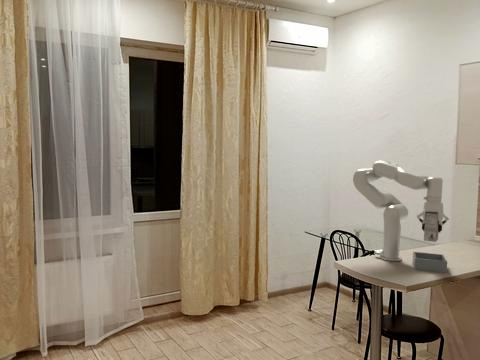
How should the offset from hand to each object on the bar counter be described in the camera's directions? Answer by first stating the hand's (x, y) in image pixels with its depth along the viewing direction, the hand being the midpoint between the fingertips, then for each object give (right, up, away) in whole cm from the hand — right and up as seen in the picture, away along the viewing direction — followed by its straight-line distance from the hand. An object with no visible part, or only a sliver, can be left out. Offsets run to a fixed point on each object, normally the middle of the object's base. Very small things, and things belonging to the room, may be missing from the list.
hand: (431, 231), depth 243 cm
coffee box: (0, -5, 0) cm, 5 cm away
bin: (-1, -20, +2) cm, 20 cm away
